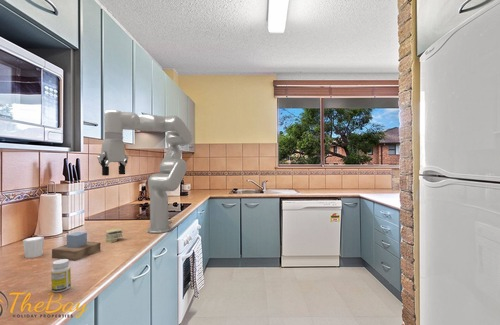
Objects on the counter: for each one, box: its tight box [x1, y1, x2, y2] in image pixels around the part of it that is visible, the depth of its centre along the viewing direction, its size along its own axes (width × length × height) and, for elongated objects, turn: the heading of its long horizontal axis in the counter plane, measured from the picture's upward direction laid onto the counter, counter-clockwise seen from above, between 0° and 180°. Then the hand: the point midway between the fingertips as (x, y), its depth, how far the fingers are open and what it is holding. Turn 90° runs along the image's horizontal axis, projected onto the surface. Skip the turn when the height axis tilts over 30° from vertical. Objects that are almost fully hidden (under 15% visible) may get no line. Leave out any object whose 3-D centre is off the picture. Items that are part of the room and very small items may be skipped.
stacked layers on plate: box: [104, 228, 124, 244], centre depth 131 cm, size 10×9×6 cm
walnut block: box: [51, 241, 101, 262], centre depth 112 cm, size 12×12×4 cm
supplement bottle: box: [50, 259, 72, 293], centre depth 81 cm, size 5×5×8 cm
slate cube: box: [66, 231, 88, 248], centre depth 112 cm, size 5×5×5 cm
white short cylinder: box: [22, 236, 45, 259], centre depth 111 cm, size 7×7×7 cm
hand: (114, 174), depth 123 cm, fingers open, 9 cm apart
